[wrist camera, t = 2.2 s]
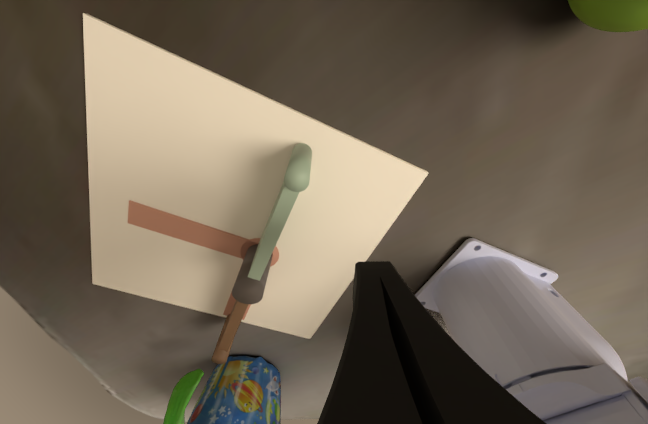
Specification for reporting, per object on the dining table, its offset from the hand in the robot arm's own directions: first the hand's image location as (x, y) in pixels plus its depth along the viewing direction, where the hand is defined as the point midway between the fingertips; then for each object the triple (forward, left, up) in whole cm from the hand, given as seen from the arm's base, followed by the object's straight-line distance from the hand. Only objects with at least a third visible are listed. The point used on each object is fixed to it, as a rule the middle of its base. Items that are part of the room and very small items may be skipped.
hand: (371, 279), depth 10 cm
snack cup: (0, +26, -9) cm, 27 cm away
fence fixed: (+4, +12, -8) cm, 15 cm away
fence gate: (+4, +2, -8) cm, 9 cm away
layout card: (+6, +7, -8) cm, 12 cm away
